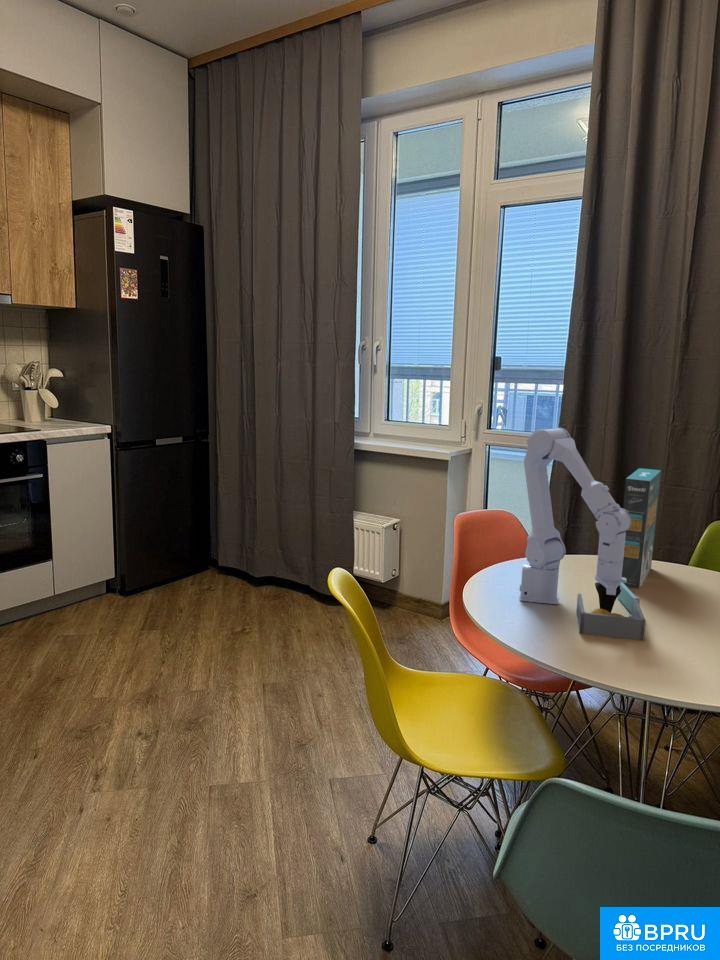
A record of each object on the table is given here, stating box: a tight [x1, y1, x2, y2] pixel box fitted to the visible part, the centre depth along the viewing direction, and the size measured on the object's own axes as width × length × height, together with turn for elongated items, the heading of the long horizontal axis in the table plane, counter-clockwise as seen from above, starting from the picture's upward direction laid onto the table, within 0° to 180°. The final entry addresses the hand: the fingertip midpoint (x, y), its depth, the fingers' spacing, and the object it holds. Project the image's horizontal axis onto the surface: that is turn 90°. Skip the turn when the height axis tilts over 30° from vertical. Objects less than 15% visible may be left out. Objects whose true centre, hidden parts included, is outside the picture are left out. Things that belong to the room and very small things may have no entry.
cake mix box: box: [622, 468, 662, 589], centre depth 193 cm, size 22×6×30 cm, turn 149°
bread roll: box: [590, 608, 625, 617], centre depth 158 cm, size 8×9×4 cm
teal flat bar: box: [617, 583, 641, 615], centre depth 170 cm, size 14×2×4 cm, turn 175°
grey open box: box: [575, 593, 646, 642], centre depth 159 cm, size 15×16×5 cm
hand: (605, 613), depth 163 cm, fingers closed
